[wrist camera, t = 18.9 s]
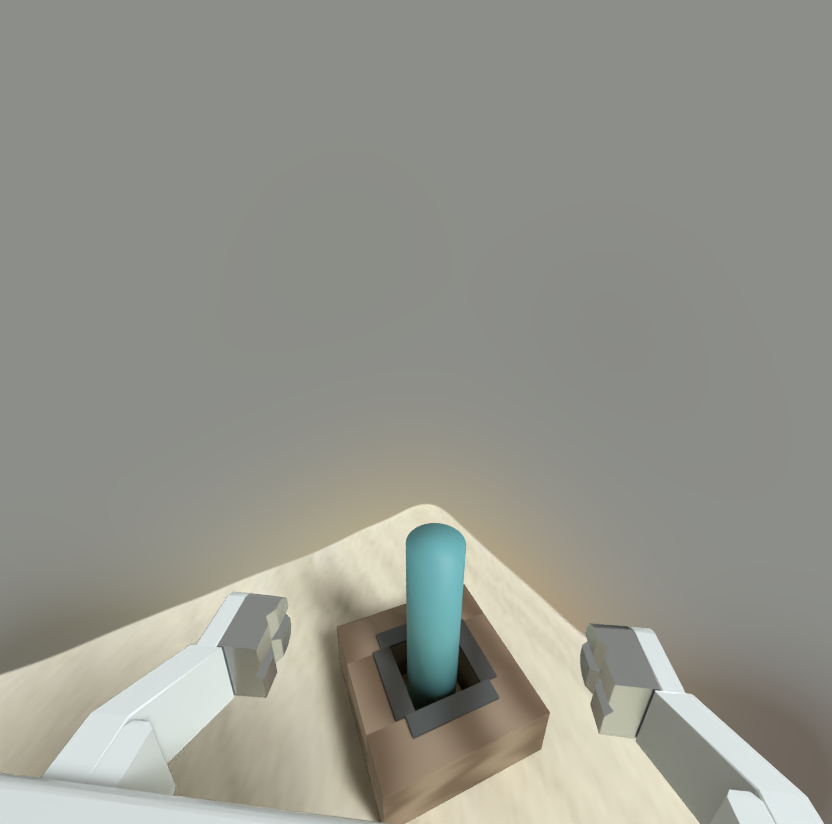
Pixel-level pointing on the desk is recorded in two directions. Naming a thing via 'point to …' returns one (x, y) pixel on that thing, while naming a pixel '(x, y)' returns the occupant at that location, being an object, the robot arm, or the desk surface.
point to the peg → (433, 611)
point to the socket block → (436, 713)
